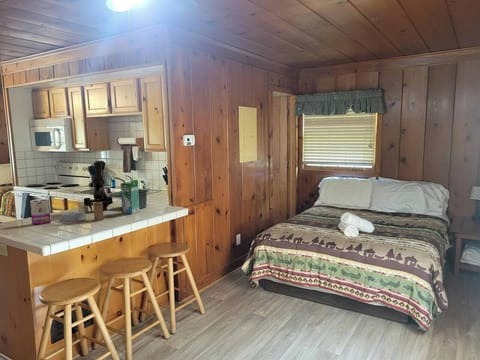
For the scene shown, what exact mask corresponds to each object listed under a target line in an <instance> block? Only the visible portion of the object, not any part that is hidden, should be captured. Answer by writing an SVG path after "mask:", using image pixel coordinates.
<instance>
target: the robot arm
mask: <svg viewBox="0 0 480 360" xmlns="http://www.w3.org/2000/svg"><path fill="white" fill-rule="evenodd" d="M93 167H94V169H95V176H94V177H93V180H92V183H91V184H92V185H93V189H94V190H93V198H92V199H91V198H90V197H84V198H83V202H84V204H85V205H87V206H88V209H90V211H91V212H93V206H92V203H96V202H103V212H105V211H108V210H109V208H108V207H109V206H111V205H112V204H113V203H114V202H113V201H114V200H113V196H108V195H107V192H106V190H105V188H104V187H105V184H106V180H105V179H104V170H105V169H106V162H105V161H104V160H95V161H94V162H93Z"/></svg>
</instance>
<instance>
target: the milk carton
mask: <svg viewBox="0 0 480 360" xmlns="http://www.w3.org/2000/svg"><path fill="white" fill-rule="evenodd" d="M138 189H139V180H138V179H127V180H124V181H123V182H121V183H120V191H121V192H120V196H121V207H122V208H121V211H122V214H126V215H135V214H137V213H140V209H139V191H138Z"/></svg>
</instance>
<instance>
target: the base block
mask: <svg viewBox="0 0 480 360" xmlns="http://www.w3.org/2000/svg"><path fill="white" fill-rule="evenodd" d="M60 217H61V221H64V222H77V221H81V220H84V219H86V218H87V217H86V213H85V212H78V211H69V212H66V213H62V214H60Z"/></svg>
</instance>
